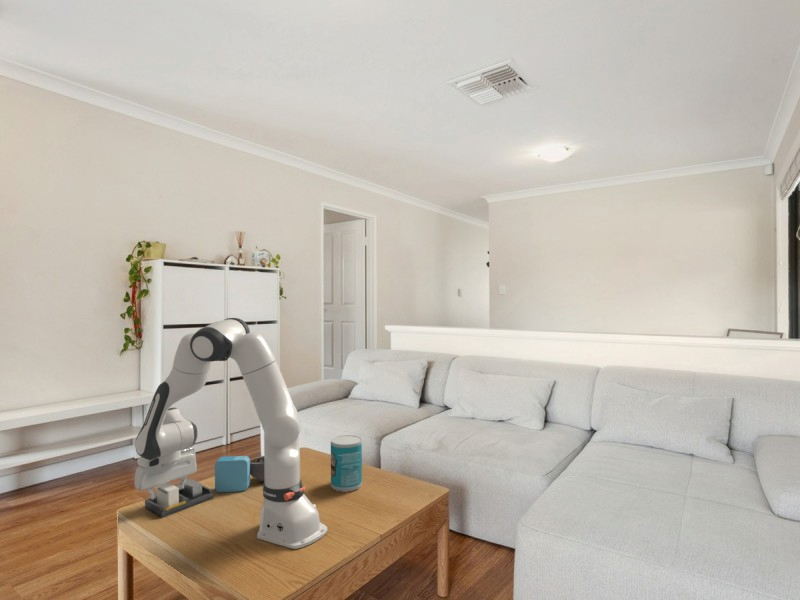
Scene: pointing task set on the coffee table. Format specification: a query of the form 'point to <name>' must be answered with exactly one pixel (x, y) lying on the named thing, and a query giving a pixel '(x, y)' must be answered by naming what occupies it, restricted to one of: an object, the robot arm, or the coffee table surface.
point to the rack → (182, 499)
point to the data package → (232, 474)
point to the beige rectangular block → (167, 495)
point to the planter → (257, 468)
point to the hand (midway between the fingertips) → (167, 493)
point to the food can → (346, 463)
